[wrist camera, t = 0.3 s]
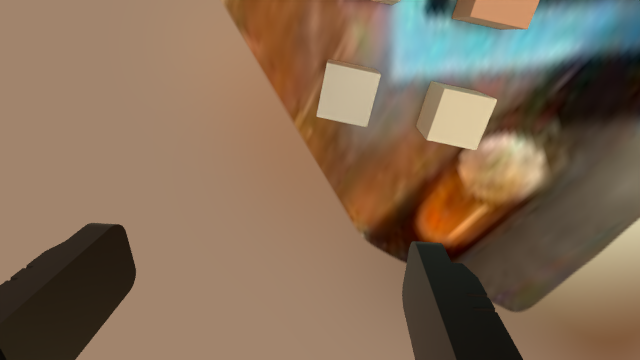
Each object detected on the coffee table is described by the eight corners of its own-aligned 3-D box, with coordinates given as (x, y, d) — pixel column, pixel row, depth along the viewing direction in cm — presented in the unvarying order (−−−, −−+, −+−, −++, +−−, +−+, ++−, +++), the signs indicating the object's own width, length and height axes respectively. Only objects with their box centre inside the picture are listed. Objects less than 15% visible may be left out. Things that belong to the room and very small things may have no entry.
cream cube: (430, 80, 34) (444, 88, 30) (476, 90, 34) (497, 99, 30) (415, 126, 36) (426, 139, 32) (458, 135, 37) (475, 150, 32)
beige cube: (328, 58, 34) (326, 62, 29) (375, 68, 34) (380, 74, 30) (319, 106, 36) (316, 116, 31) (363, 115, 36) (366, 127, 32)
